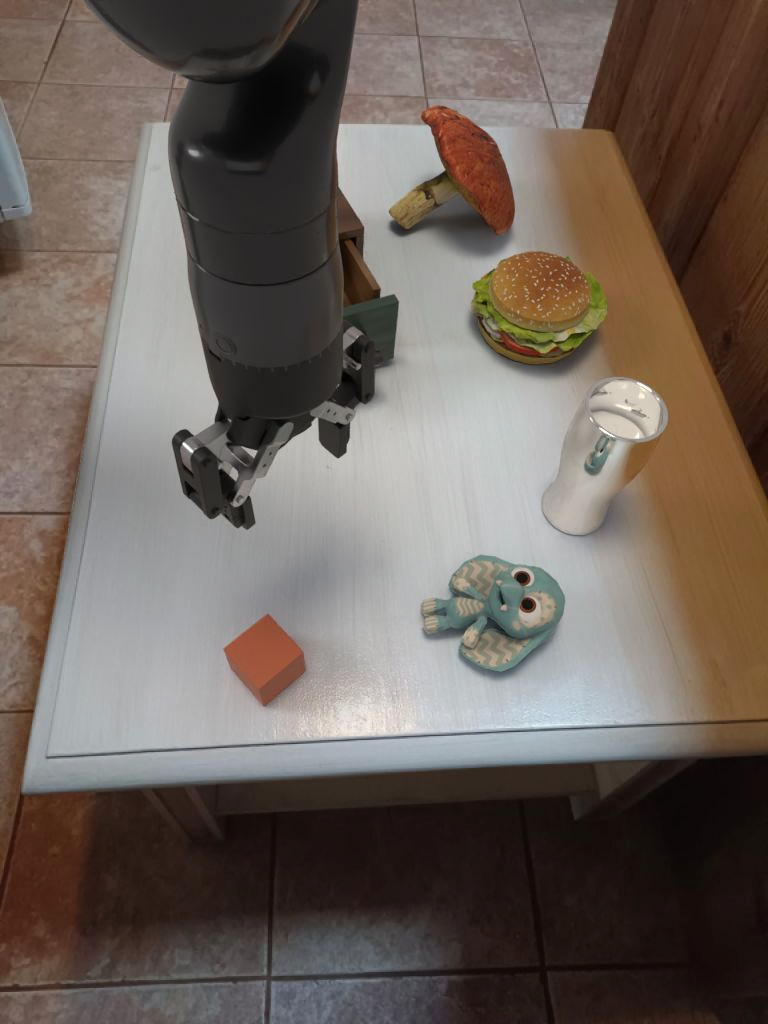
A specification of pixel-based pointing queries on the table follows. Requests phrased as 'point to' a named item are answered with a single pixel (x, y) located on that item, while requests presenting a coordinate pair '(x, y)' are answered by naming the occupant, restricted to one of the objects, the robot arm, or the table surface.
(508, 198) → the mushroom
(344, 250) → the drawer
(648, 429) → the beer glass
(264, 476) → the robot arm
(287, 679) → the block
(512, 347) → the food
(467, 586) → the stuffed animal
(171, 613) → the table surface
